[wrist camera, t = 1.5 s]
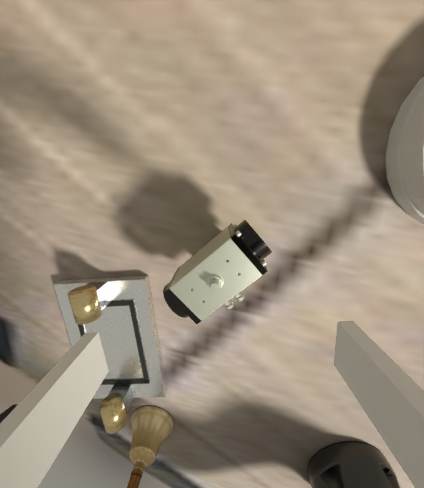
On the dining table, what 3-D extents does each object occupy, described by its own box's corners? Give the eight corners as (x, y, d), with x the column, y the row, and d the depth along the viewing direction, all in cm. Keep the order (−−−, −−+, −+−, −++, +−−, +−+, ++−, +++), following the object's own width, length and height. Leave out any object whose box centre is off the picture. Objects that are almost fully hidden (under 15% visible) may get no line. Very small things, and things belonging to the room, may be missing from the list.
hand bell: (161, 443, 40) (125, 602, 25) (123, 426, 39) (61, 578, 24) (181, 417, 38) (155, 571, 23) (142, 398, 37) (87, 544, 22)
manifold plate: (167, 390, 36) (156, 433, 30) (92, 392, 37) (66, 434, 31) (147, 272, 31) (129, 293, 24) (60, 277, 32) (19, 299, 25)
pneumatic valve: (177, 262, 30) (150, 307, 19) (237, 211, 28) (250, 225, 16) (201, 288, 31) (190, 345, 20) (262, 240, 29) (290, 273, 17)
